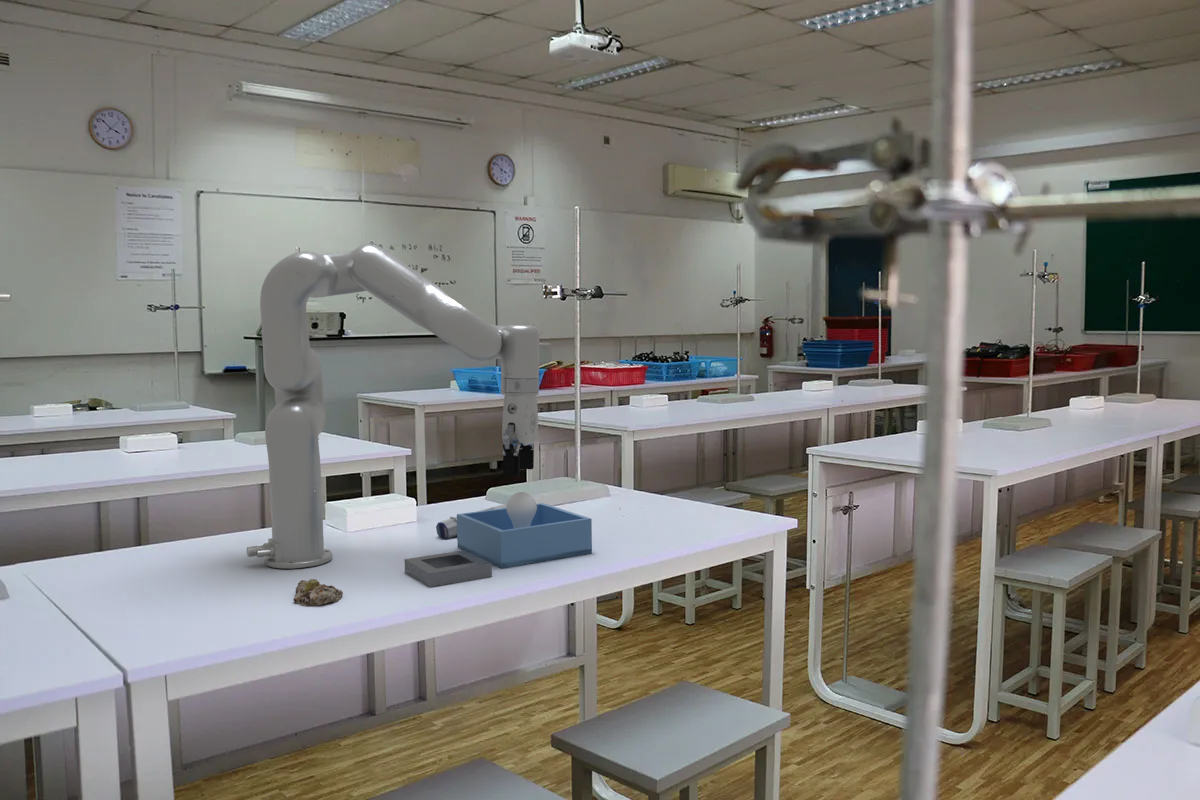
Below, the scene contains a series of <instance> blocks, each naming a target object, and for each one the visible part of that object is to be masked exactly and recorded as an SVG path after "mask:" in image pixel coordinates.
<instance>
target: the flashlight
mask: <svg viewBox="0 0 1200 800" xmlns="http://www.w3.org/2000/svg"><path fill="white" fill-rule="evenodd" d="M506 505H507V503H504V504H499V505H497V506H492V507H489V508H486V509H482V510H480V511H485V510H493V509H500V508H506ZM435 528H436V534H437V536H438V538H439V539H441V540H442V539H443V540H448V539H452V538H455V537H457V516H449V518H447V519H446V520H442V521H440V522H437V524H436V526H435Z"/></svg>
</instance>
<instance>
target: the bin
mask: <svg viewBox="0 0 1200 800" xmlns="http://www.w3.org/2000/svg"><path fill="white" fill-rule="evenodd" d="M536 504H537V510H536V513H535V516H534V518H533V520H532V522H531V525H530V526H529V527H522V528H515V529H514V527H513V524H512V521H511V519H510V518H509V516H508V514H507V510H506V508H500V509H493V510H485V511H481V510H477V511H471V512H470V511H469V512H462V513H457V514H456V517H457V536H456V537H457V538H456V539H457V543H456V544H457V549H460V551H461V550H465V551H467V552H469V553H471V554H473V555H475V556H477V557H480V558H482V559H484V560H486V561H488V562H490V563H492V565H493V566H495V567H497V568H500V569H508V568H512V567H513V566H514V567H519V566H518V565H520V566H525V565H524V564H526V565H530V564H531V563H532V564H538V563H544V562H549V561H554V560H560V559H567V557H568V558H572V557H573V556H574V557H579V556H578V555H580V556H583V555H584V556H586V555H591V554H593V539H592V538H593V534H592V533H593V532H592V530H593V529H592V522H593V521H592V518H590V517H587V516H584V515H581V514H578V513H576V512H572V511H569V510H567V509H566V510H565V509H562V508H559V507H556V506H553V505H550V504H547V503H543V502H540V503H536ZM574 557H573V558H574ZM532 564H531V565H532Z"/></svg>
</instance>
